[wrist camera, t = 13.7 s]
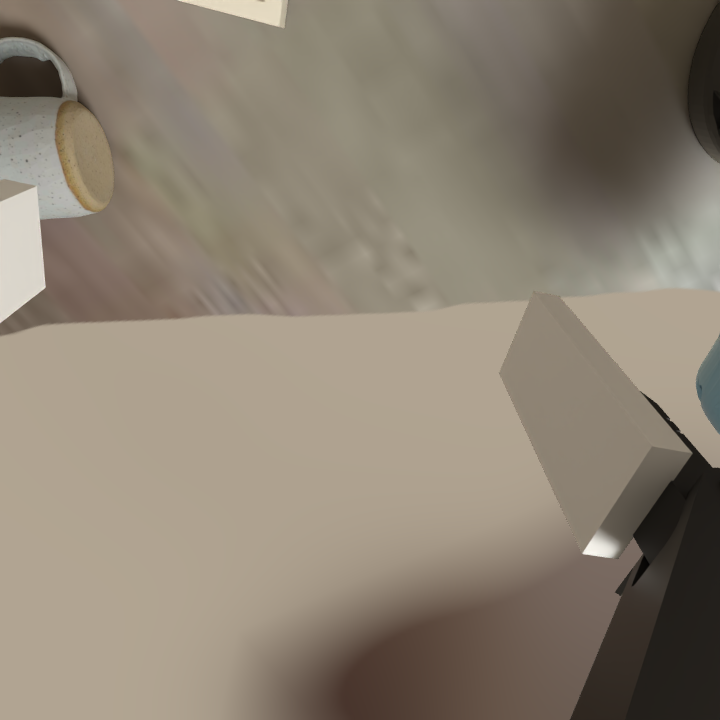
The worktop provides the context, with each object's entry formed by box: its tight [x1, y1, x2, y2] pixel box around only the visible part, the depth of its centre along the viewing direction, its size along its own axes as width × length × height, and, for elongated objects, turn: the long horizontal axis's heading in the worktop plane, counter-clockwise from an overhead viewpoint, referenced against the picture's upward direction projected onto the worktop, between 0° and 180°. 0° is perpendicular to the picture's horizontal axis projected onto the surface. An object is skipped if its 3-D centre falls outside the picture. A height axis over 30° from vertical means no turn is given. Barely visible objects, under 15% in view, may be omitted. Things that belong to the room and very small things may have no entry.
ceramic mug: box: [0, 37, 114, 220], centre depth 33 cm, size 11×8×8 cm
